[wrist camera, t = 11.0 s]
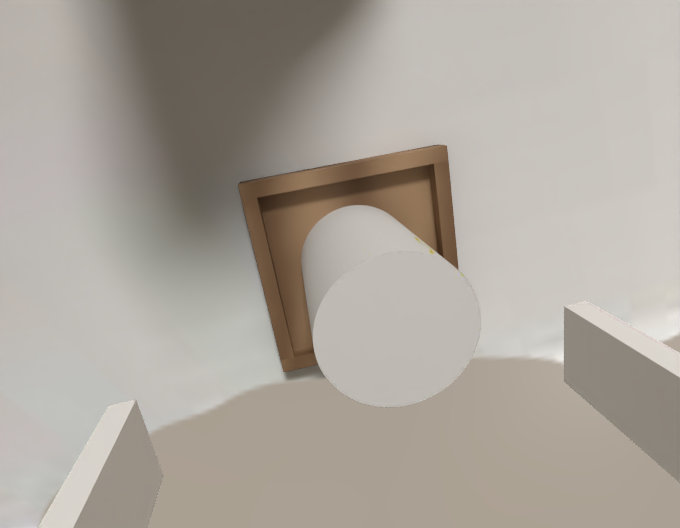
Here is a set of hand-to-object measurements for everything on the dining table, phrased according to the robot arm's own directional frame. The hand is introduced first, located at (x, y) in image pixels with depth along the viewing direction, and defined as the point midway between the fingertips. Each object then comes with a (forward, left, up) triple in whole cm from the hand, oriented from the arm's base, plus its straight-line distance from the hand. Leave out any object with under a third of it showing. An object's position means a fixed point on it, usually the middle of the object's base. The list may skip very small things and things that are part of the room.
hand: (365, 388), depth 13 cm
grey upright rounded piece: (+3, -2, -19) cm, 20 cm away
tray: (+3, -2, -20) cm, 20 cm away
